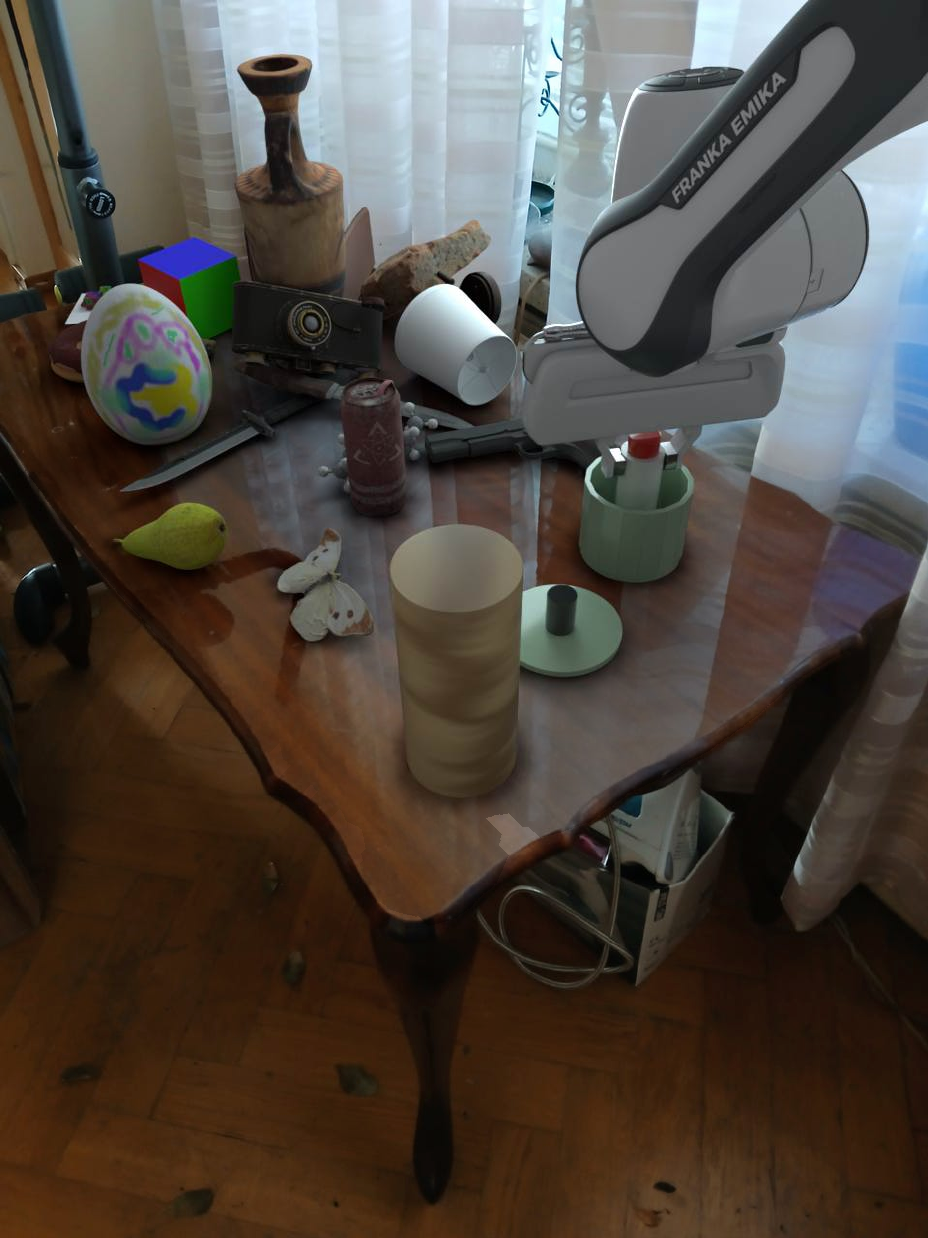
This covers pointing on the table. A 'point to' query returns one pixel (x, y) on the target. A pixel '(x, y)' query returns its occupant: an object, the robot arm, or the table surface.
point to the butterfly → (325, 595)
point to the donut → (68, 353)
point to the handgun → (506, 444)
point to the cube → (195, 282)
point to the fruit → (180, 537)
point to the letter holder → (356, 254)
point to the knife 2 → (331, 390)
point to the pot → (634, 527)
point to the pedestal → (458, 656)
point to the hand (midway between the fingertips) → (641, 469)
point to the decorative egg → (145, 366)
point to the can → (374, 445)
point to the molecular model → (408, 440)
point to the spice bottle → (641, 472)
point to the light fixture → (458, 338)
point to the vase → (291, 190)
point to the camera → (306, 329)
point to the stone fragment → (423, 267)
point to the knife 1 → (224, 441)
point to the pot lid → (567, 631)
